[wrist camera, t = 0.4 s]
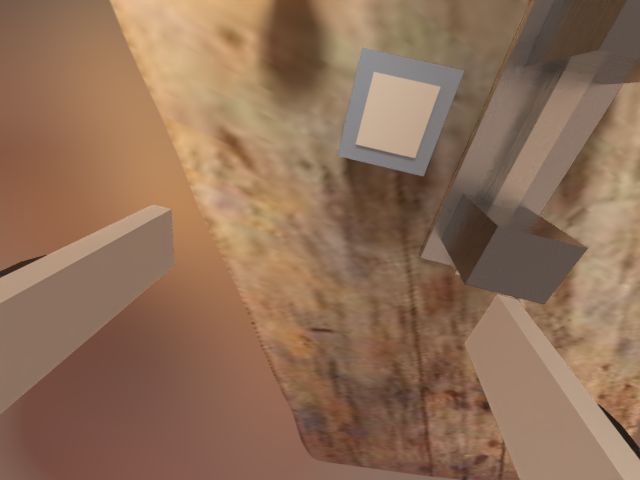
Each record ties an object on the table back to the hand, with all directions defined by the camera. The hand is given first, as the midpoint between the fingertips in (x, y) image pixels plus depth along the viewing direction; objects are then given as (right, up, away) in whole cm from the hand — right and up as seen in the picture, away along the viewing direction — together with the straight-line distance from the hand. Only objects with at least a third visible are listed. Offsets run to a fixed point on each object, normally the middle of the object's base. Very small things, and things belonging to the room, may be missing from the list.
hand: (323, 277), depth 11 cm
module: (+7, +15, +17) cm, 24 cm away
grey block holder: (+20, +11, +17) cm, 29 cm away
